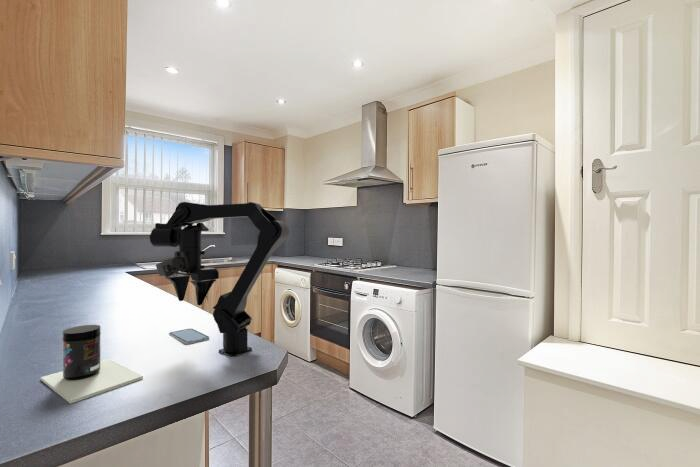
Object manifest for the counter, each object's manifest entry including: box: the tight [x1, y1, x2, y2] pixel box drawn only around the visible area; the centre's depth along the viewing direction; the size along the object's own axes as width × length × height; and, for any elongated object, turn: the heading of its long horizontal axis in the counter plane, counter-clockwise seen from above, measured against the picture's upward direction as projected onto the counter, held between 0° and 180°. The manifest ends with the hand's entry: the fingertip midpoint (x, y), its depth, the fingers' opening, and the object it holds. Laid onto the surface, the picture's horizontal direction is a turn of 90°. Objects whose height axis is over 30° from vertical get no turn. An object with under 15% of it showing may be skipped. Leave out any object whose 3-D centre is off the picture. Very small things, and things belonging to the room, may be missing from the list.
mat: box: [40, 358, 144, 405], centre depth 74 cm, size 18×13×1 cm
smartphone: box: [168, 328, 210, 345], centre depth 104 cm, size 7×1×15 cm
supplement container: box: [61, 324, 102, 380], centre depth 75 cm, size 7×7×10 cm
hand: (190, 302), depth 93 cm, fingers open, 9 cm apart
